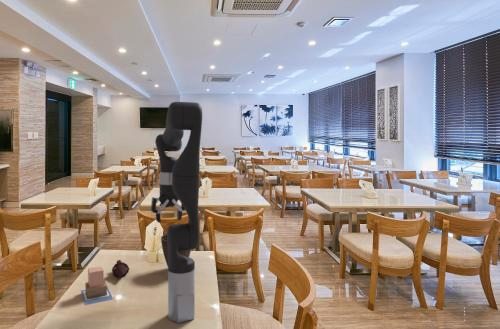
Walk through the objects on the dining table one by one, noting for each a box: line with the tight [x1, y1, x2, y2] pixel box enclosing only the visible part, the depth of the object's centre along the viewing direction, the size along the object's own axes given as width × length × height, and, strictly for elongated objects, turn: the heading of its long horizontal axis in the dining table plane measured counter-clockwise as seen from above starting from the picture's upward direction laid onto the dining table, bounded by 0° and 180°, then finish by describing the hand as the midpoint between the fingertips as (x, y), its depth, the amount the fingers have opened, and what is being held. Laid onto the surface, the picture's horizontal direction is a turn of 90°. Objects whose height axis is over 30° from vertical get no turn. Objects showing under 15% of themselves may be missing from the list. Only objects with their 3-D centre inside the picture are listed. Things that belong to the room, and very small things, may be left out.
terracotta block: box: [87, 265, 105, 288], centre depth 143 cm, size 5×5×6 cm
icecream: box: [111, 259, 130, 278], centre depth 161 cm, size 7×7×15 cm
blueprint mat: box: [80, 286, 114, 306], centre depth 143 cm, size 14×10×1 cm
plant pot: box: [160, 233, 191, 267], centre depth 170 cm, size 15×15×16 cm
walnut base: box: [84, 279, 108, 299], centre depth 143 cm, size 7×7×4 cm
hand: (169, 221), depth 150 cm, fingers open, 8 cm apart
